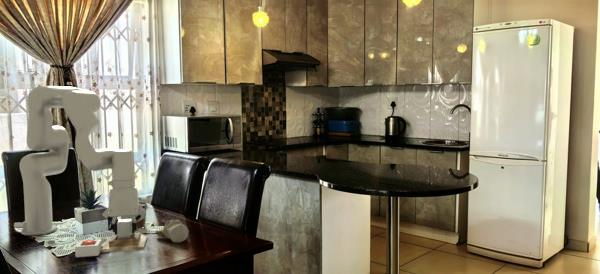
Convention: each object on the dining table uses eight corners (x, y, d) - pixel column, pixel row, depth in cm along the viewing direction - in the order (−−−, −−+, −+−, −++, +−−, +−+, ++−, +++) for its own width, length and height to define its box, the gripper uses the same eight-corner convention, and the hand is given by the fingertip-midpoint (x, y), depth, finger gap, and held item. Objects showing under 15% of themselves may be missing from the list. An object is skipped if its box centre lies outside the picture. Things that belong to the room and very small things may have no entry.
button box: (75, 257, 157) (75, 246, 157) (80, 250, 164) (79, 241, 163) (97, 255, 158) (97, 245, 158) (101, 249, 165) (101, 239, 165)
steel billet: (117, 244, 168) (117, 222, 167) (119, 240, 172) (118, 219, 171) (130, 243, 169) (130, 221, 168) (132, 240, 173) (131, 218, 172)
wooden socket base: (101, 252, 162) (101, 243, 162) (108, 240, 176) (107, 232, 175) (143, 249, 165) (143, 240, 165) (147, 238, 179) (147, 230, 179)
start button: (81, 249, 158) (80, 243, 158) (83, 245, 162) (83, 240, 162) (93, 248, 159) (93, 242, 159) (96, 245, 163) (95, 239, 163)
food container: (153, 224, 199) (152, 201, 198) (147, 228, 193) (146, 204, 192) (125, 223, 200) (125, 200, 200) (118, 227, 194) (118, 203, 194)
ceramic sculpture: (167, 222, 168) (153, 216, 180) (168, 246, 168) (154, 239, 180) (195, 218, 174) (179, 213, 186) (195, 241, 175) (180, 234, 187)
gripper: (96, 186, 163) (97, 238, 164) (147, 184, 167) (148, 234, 168) (100, 183, 170) (101, 232, 172) (149, 181, 174) (150, 229, 176)
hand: (125, 232), depth 170 cm, fingers open, 5 cm apart
